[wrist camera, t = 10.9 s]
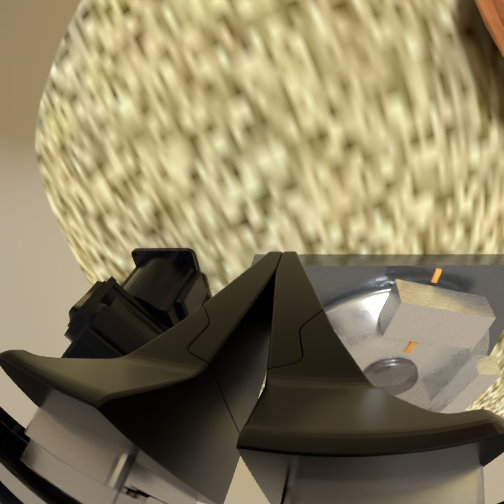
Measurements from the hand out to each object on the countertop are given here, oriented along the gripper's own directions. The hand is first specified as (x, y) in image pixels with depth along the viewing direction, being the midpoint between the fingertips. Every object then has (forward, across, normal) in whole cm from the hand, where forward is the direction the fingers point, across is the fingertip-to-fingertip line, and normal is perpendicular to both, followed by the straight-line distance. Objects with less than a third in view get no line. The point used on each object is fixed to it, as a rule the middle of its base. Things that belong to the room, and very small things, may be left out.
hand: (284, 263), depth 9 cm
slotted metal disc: (+10, -8, +20) cm, 24 cm away
